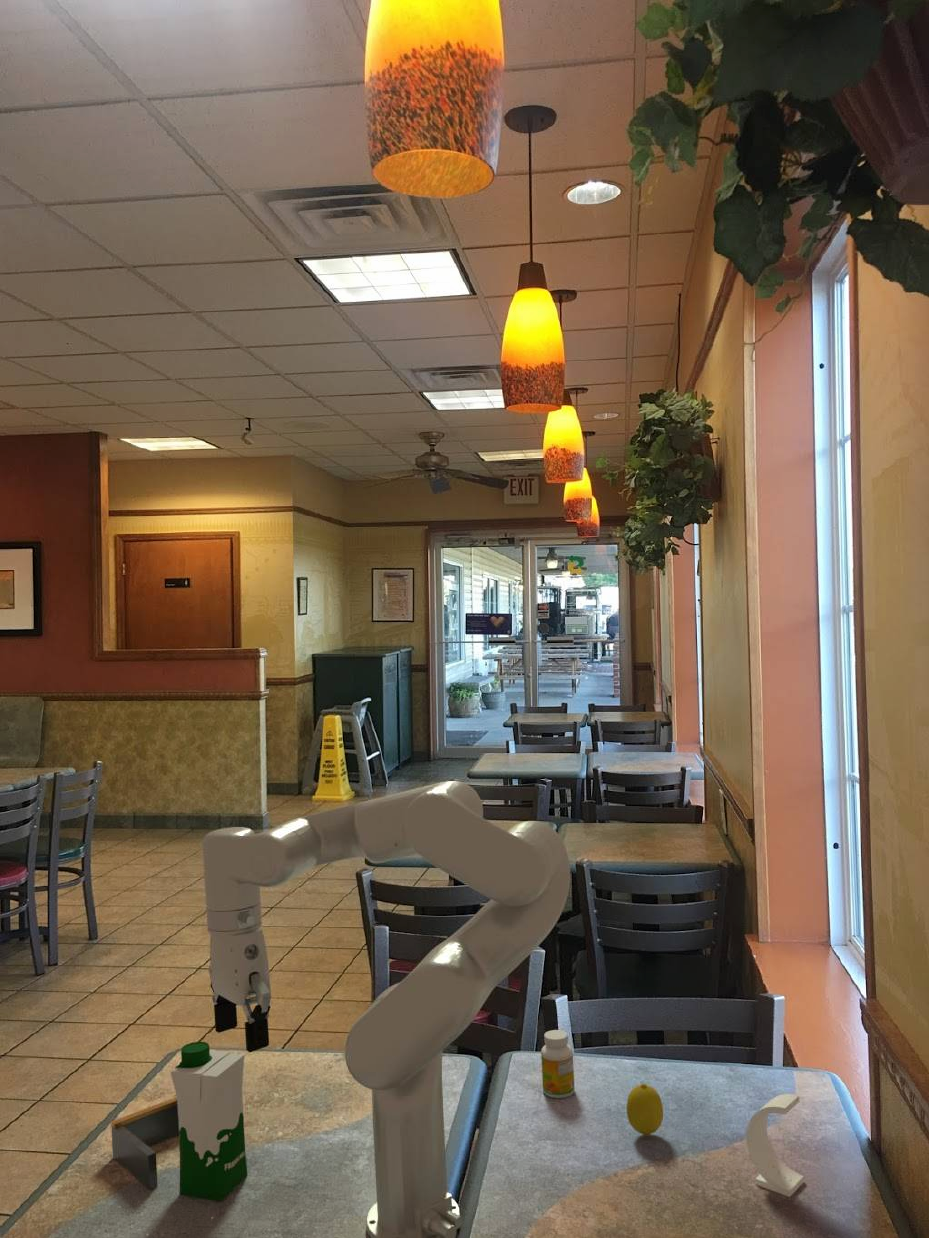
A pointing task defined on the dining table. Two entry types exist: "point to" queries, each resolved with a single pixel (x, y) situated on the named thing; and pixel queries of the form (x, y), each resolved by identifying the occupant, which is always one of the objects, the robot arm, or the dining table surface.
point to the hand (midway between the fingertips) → (241, 1038)
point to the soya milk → (210, 1121)
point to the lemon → (644, 1109)
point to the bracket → (144, 1139)
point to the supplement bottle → (557, 1065)
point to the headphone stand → (771, 1149)
